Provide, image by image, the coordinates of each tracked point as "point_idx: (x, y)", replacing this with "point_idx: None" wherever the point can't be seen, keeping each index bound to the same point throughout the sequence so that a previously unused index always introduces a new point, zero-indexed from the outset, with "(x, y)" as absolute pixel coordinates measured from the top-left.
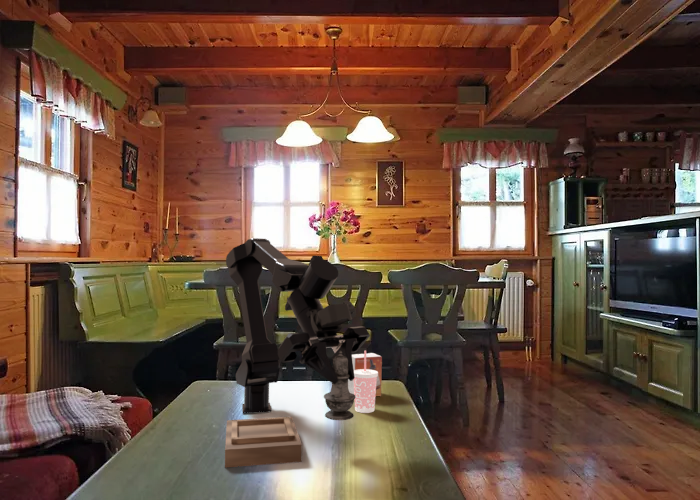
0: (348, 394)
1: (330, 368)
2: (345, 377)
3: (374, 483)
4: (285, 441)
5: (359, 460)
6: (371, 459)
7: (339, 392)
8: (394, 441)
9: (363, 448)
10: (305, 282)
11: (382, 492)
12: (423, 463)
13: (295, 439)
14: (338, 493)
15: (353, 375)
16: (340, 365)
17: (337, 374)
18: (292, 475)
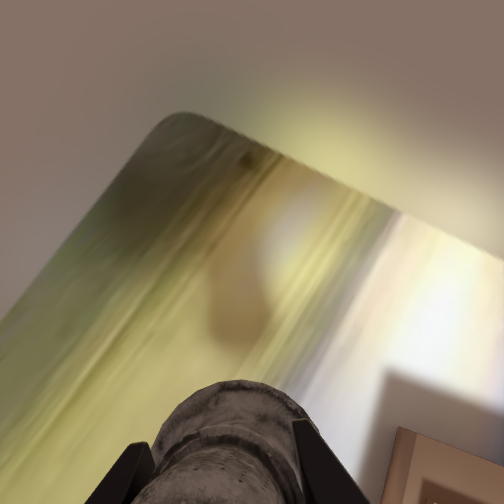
0: (210, 421)
1: (352, 501)
2: (222, 426)
3: (286, 209)
4: (466, 499)
5: (238, 341)
6: (205, 329)
7: (266, 434)
8: (50, 416)
9: None
10: None
11: (296, 169)
12: (113, 239)
13: (422, 499)
14: (384, 208)
15: (128, 455)
16: (251, 469)
17: (273, 474)
18: (454, 350)
